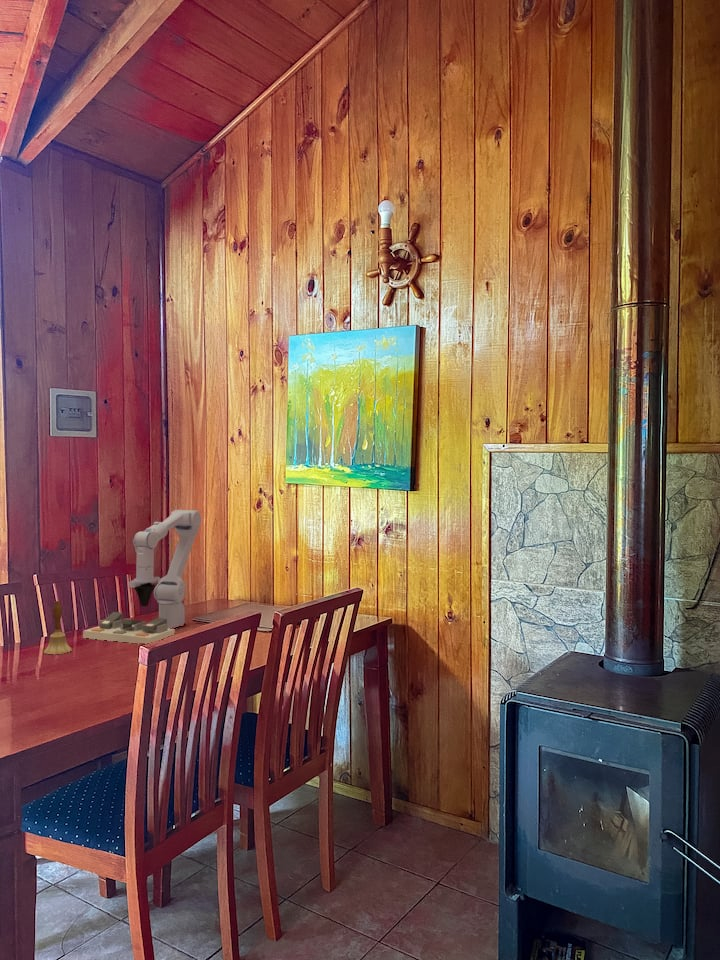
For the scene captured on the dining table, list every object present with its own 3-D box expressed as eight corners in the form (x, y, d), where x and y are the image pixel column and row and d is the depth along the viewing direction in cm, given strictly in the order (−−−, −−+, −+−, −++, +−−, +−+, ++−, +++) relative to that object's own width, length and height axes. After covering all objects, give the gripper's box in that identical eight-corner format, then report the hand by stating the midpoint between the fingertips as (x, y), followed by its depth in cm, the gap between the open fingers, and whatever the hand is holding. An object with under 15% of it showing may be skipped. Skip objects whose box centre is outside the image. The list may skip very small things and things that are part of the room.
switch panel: (110, 629, 259) (110, 616, 259) (174, 636, 250) (174, 622, 250) (83, 638, 246) (83, 624, 246) (149, 645, 237) (149, 631, 237)
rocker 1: (114, 615, 257) (113, 611, 257) (123, 616, 256) (122, 612, 255) (100, 627, 250) (98, 623, 250) (109, 628, 249) (108, 624, 248)
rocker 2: (157, 622, 251) (156, 617, 251) (167, 623, 250) (166, 618, 250) (143, 630, 244) (142, 625, 244) (153, 631, 242) (152, 626, 242)
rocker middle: (134, 625, 254) (135, 620, 254) (144, 626, 253) (145, 621, 253) (120, 623, 247) (121, 618, 247) (130, 624, 245) (131, 619, 246)
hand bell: (65, 655, 224) (65, 603, 224) (38, 654, 224) (38, 603, 224) (76, 648, 233) (76, 598, 232) (50, 648, 233) (50, 598, 232)
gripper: (148, 563, 258) (147, 601, 258) (121, 567, 244) (120, 608, 244) (165, 564, 256) (164, 603, 256) (139, 569, 242) (138, 609, 242)
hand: (144, 605), depth 250 cm, fingers closed
